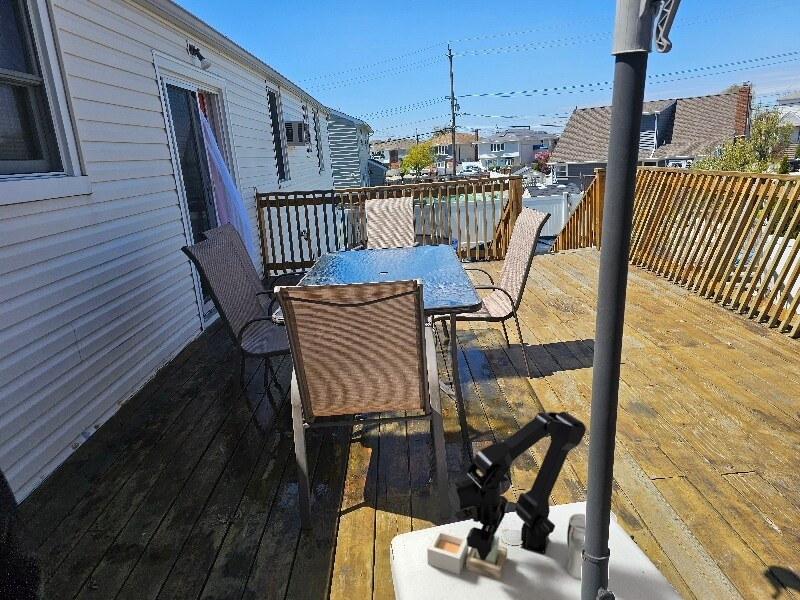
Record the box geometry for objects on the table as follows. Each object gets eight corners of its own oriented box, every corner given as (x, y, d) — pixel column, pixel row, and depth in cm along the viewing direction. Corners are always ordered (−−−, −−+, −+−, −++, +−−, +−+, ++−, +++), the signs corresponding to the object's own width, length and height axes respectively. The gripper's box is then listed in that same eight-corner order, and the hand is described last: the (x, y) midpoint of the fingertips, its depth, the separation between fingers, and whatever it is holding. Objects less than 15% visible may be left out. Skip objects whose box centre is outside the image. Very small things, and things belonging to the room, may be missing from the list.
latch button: (461, 549, 137) (461, 546, 137) (455, 562, 133) (455, 559, 132) (441, 543, 139) (441, 540, 139) (435, 555, 135) (434, 552, 135)
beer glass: (594, 582, 128) (599, 534, 123) (565, 578, 129) (569, 530, 125) (590, 561, 134) (595, 514, 130) (563, 558, 136) (566, 511, 131)
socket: (468, 552, 138) (468, 537, 137) (459, 574, 131) (459, 558, 130) (437, 543, 142) (437, 528, 140) (427, 563, 135) (427, 548, 134)
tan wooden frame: (506, 557, 136) (507, 548, 135) (499, 579, 129) (500, 570, 129) (474, 547, 140) (475, 538, 139) (466, 568, 133) (466, 559, 132)
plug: (497, 560, 135) (498, 531, 133) (494, 571, 132) (495, 541, 129) (479, 554, 137) (480, 526, 135) (475, 565, 134) (476, 536, 131)
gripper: (469, 469, 140) (468, 516, 145) (446, 512, 124) (446, 563, 128) (509, 478, 136) (507, 526, 140) (491, 524, 119) (489, 577, 124)
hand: (487, 547), depth 133 cm, fingers open, 9 cm apart
